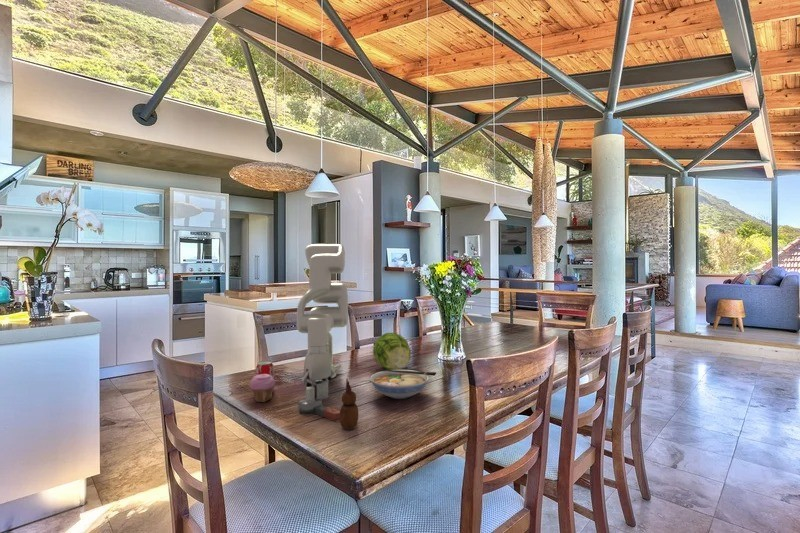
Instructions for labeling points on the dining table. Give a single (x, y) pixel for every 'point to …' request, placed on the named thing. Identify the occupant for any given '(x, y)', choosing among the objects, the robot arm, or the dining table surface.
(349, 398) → the wooden figurine
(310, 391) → the ratchet
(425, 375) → the ramen bowl
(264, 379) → the cupcake
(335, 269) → the robot arm
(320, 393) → the socket
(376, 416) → the dining table surface
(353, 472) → the dining table surface
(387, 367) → the lettuce
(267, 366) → the soda can
